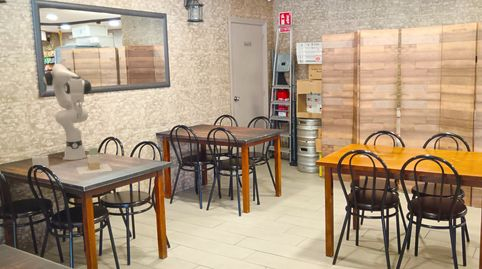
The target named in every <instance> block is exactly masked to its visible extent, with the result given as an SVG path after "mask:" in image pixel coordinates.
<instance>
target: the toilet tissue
mask: <svg viewBox="0 0 482 269" xmlns="http://www.w3.org/2000/svg"><path fill="white" fill-rule="evenodd" d="M31 161H32V167H33V166H34V165H42V166H45V167H47V168H49V169H50V161H49V155H46V154H39V155H35V156H32V158H31ZM32 170H33V169H32ZM32 172H34V170H33V171H32ZM36 173H42V171H41V170H37V172H36Z"/></svg>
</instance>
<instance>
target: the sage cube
mask: <svg viewBox="0 0 482 269" xmlns="http://www.w3.org/2000/svg"><path fill="white" fill-rule="evenodd" d="M87 148H88V155H90V156H93V155H99V151H98V147H96V146H93V147H92V146H91V147H87Z"/></svg>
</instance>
